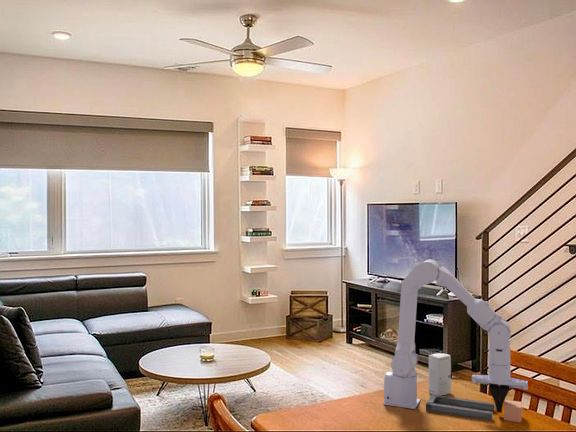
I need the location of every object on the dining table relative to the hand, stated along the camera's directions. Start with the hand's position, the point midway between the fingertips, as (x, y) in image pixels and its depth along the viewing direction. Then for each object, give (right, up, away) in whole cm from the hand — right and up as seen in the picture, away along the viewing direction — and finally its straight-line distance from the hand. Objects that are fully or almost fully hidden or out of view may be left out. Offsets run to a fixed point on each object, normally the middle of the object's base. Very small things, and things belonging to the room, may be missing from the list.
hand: (499, 411), depth 153 cm
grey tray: (-10, -1, +4) cm, 11 cm away
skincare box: (-11, -1, +20) cm, 23 cm away
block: (+3, -1, -2) cm, 4 cm away
